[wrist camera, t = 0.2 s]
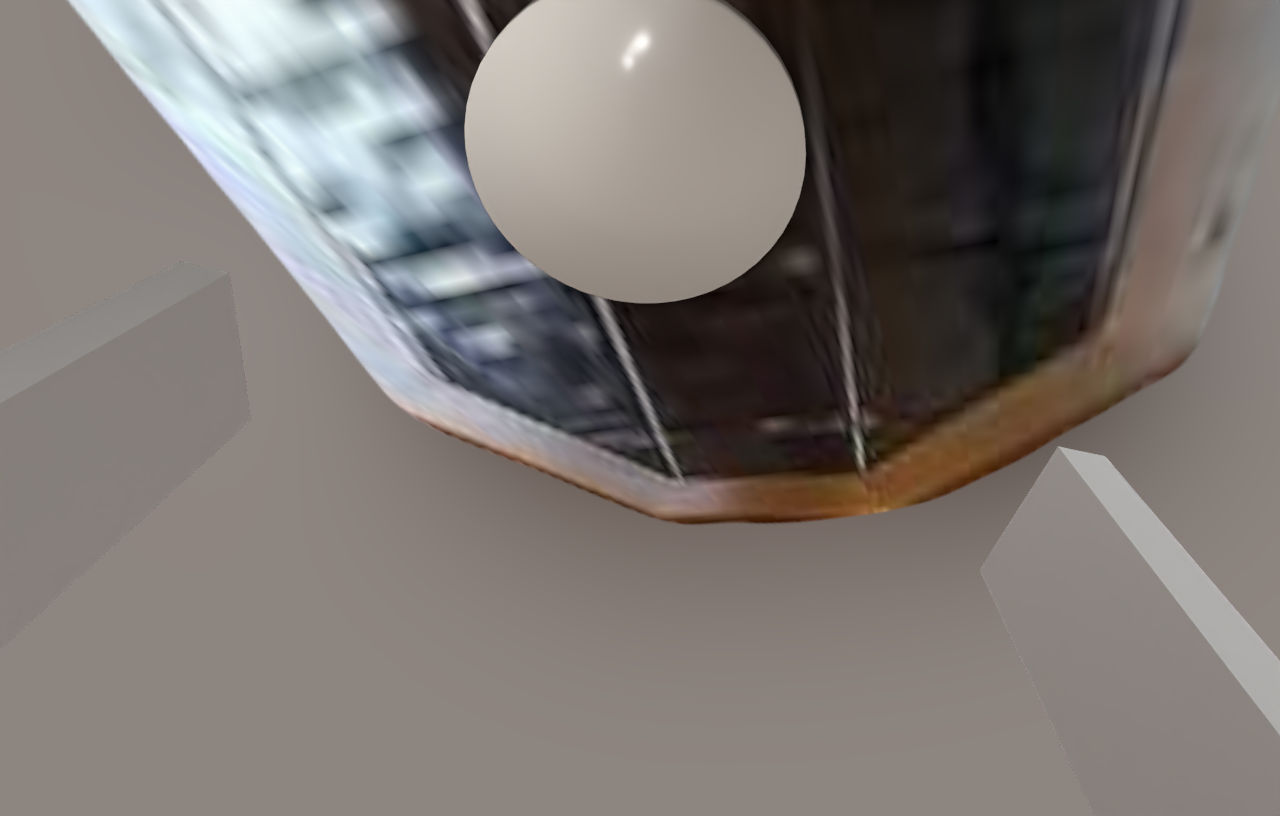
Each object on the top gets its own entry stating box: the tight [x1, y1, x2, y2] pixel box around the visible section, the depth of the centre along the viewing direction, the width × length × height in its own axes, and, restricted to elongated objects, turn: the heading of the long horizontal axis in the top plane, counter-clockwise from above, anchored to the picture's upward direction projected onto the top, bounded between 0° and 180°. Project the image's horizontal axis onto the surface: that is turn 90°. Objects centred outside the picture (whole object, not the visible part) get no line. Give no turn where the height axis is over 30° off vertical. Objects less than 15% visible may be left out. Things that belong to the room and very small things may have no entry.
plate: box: [465, 0, 806, 303], centre depth 36 cm, size 18×18×1 cm
